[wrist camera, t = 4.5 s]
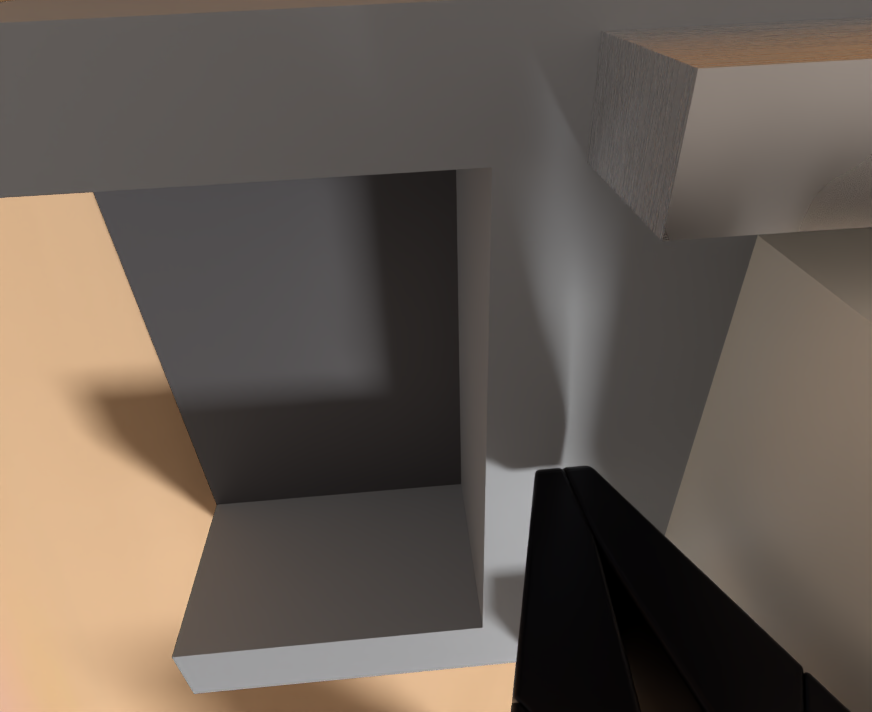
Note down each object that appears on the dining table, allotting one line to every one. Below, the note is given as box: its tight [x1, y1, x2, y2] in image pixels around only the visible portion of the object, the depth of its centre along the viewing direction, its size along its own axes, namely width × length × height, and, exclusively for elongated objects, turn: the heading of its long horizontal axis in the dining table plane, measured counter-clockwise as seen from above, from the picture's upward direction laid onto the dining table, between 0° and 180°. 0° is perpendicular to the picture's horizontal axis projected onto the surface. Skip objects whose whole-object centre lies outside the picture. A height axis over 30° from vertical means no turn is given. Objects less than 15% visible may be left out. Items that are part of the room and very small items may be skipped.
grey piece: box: [0, 0, 872, 694], centre depth 10 cm, size 22×12×4 cm, turn 92°
